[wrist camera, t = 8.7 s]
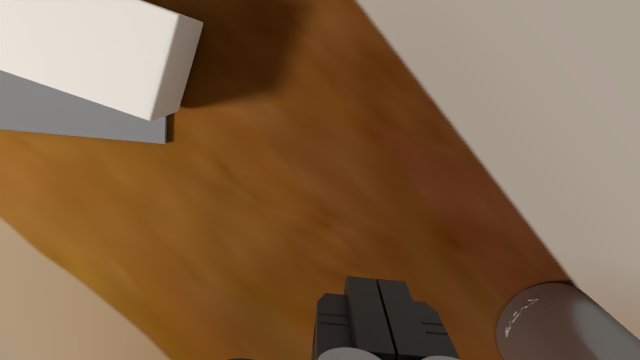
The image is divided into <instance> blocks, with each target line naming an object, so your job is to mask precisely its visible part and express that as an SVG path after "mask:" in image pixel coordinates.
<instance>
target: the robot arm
mask: <svg viewBox="0 0 640 360" xmlns="http://www.w3.org/2000/svg"><path fill="white" fill-rule="evenodd" d="M496 341H497V345H498V348H499V351H500V353H501V355H502V356H503V358H504V360H640V340H639V339H638V338H637V337H635V336H634V335H633V334H632V333H631V332H629V331H628V330H627V329H626V328H625V327H624V326H622V325H621V324H620V323H619V322H618V321H617V320H615V319H614V318H613V317H612V316H611V315H610V314H609V313H608V312H606V311H605V310H604V309H603V308H602V307H601V306H599V305H598V304H597V303H596V302H595V301H594V300H592V299H591V298H590V297H589V296H588V295H586V294H585V293H584V292H582V291H581V290H580V289H578V288H575V287H573V286H571V285H567V284H562V283H544V284H540V285H536V286H533V287H531V288H528V289H526V290H524V291H523V292H521V293H520V294H518V295H517V296H515V297H514V298H513V299H512V300H511V301H510V302H509V303H508V304H507V306H506V307H505V309H504V310H503V312H502V313H501V316H500V318H499V321H498V324H497V330H496ZM229 360H252V359H241V358H238V359H229ZM311 360H460V358H459V356H458V354H457V352H456V350H455V348H454V346H453V344H452V341H451V339H450V337H449V336H448V333H447V331H446V329H445V327H444V326H443V323H442V321H441V319H440V317H439V315H438V313H437V312H436V311H435V310H434V309H432V308H431V307H430V306H429V305H428V304H426V303H425V302H417V301H413V300H412V297H411V295H410V292H409V290H408V287H407V285H406V283H405V282H404V281H393V280H382V279H376V280H375V279H370V278H360V277H349V276H347V277H346V281H345V288H344V295H340V294H329V293H325V294H324V295H323V296H322V298H321V299H320V300H319V301H318V302H317V310H316V319H315V328H314V338H313V347H312V357H311Z"/></svg>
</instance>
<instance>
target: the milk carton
mask: <svg viewBox="0 0 640 360" xmlns="http://www.w3.org/2000/svg"><path fill="white" fill-rule="evenodd" d="M202 27H203V22H201V21H198V20H196V19H193V18H190V17H187V16H185V15H182V14H179V13H176V12H174V11H171V10H168V9H165V8H163V7H160V6H157V5H154V4H151V3H149V2H146V1H143V0H0V70H2V71H5V72H8V73H11V74H14V75H17V76H19V77H22V78H25V79H28V80H31V81H34V82H37V83H40V84H43V85H46V86H49V87H52V88H55V89H58V90H61V91H64V92H66V93H69V94H72V95H75V96H78V97H81V98H84V99H87V100H90V101H93V102H96V103H99V104H102V105H105V106H108V107H111V108H114V109H116V110H119V111H122V112H125V113H128V114H131V115H134V116H137V117H140V118H143V119H146V120H149V121H153V120H156V119H159V118H161V117H164V116H167V115H170V114H173V113H175V112H178V110H179V107H180V104H181V100H182V97H183V93H184V90H185V87H186V83H187V80H188V76H189V73H190V69H191V66H192V62H193V59H194V55H195V52H196V48H197V45H198V41H199V38H200V34H201V31H202Z"/></svg>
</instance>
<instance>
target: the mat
mask: <svg viewBox="0 0 640 360" xmlns="http://www.w3.org/2000/svg"><path fill="white" fill-rule="evenodd" d="M0 129H4V130H15V131H26V132H37V133H49V134H60V135H71V136H82V137H94V138H105V139H116V140H127V141H139V142H150V143H161V144H165V143H167V116H164V117H161V118H159V119H156V120H153V121H149V120H146V119H143V118H140V117H137V116H134V115H131V114H128V113H125V112H122V111H119V110H116V109H114V108H111V107H108V106H105V105H102V104H99V103H96V102H93V101H90V100H87V99H84V98H81V97H78V96H75V95H72V94H69V93H66V92H64V91H61V90H58V89H55V88H52V87H49V86H46V85H43V84H40V83H37V82H34V81H31V80H28V79H25V78H22V77H19V76H17V75H14V74H11V73H8V72H5V71H2V70H0Z"/></svg>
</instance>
